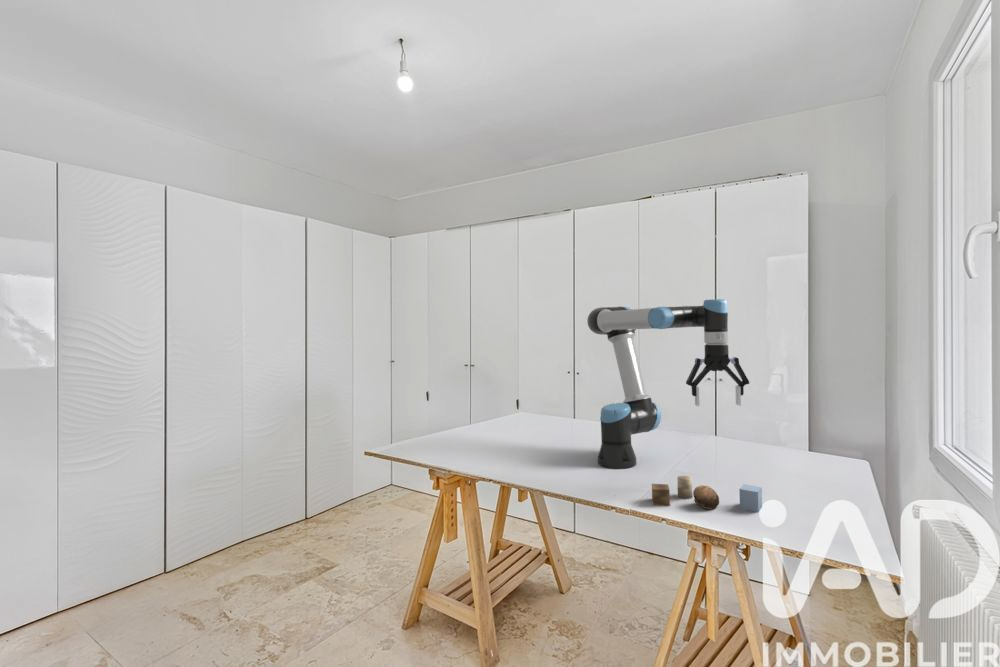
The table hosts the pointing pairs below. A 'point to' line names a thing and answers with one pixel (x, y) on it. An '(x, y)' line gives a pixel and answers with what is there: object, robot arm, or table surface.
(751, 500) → the slate block
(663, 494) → the walnut block
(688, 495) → the birch cylinder
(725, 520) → the table surface
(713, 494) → the mushroom
